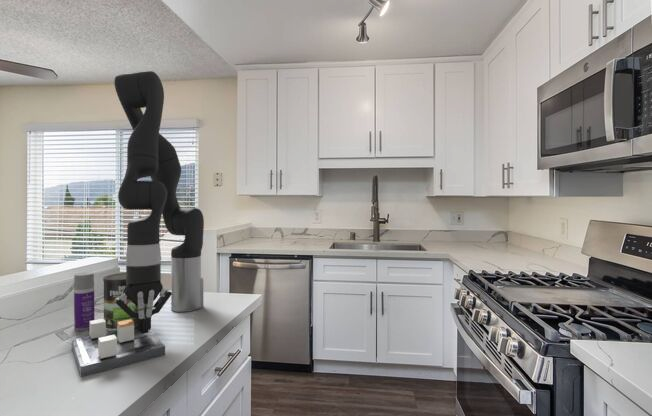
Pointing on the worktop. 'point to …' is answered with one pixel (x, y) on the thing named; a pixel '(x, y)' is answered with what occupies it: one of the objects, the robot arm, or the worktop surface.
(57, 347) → the worktop surface
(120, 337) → the block
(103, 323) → the block
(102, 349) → the breaker near
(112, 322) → the coffee can
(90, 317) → the container
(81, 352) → the breaker panel
